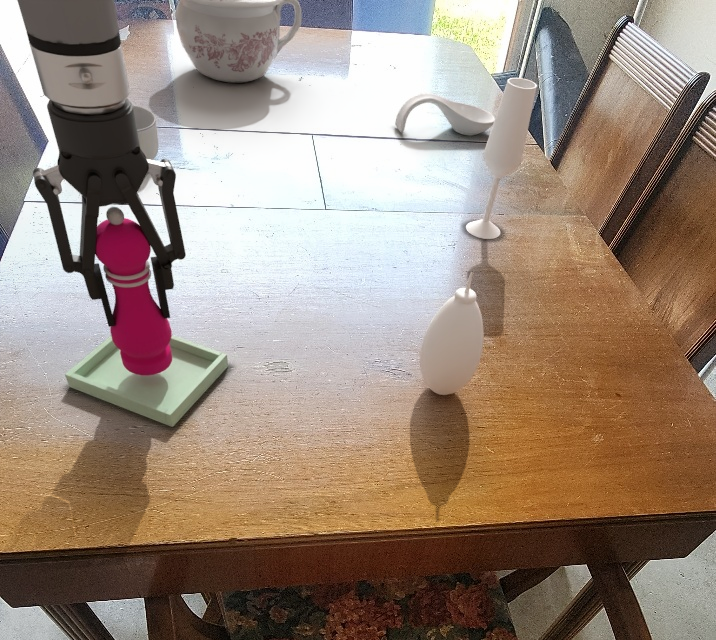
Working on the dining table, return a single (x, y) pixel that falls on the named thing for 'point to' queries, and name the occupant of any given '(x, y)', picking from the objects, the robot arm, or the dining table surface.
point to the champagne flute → (505, 145)
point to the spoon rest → (450, 114)
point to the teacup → (146, 131)
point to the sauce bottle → (453, 343)
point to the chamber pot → (233, 36)
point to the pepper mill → (133, 296)
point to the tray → (150, 379)
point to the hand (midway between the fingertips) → (137, 315)
